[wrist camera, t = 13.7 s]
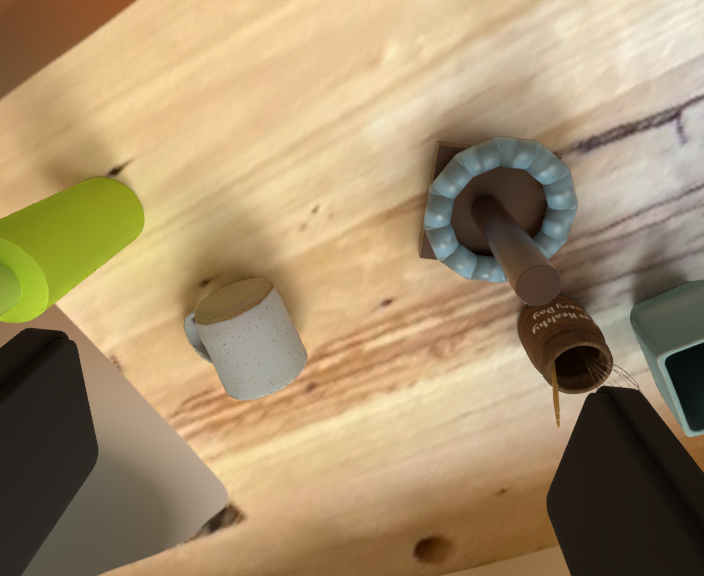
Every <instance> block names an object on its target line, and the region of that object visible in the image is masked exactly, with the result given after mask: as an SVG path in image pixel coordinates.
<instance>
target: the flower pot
mask: <svg viewBox="0 0 704 576" xmlns="http://www.w3.org/2000/svg"><path fill="white" fill-rule="evenodd" d="M630 320H631V325H632V327H633V330H634V332H635V334H636V337H637V339H638V342H639V344H640V346H641V349H642V351H643V354H644V356H645V359H646V361H647V364H648V366H649V369H650V371H651V373H652V376H653V379H654V381H655V384H656V386H657V388H658V390H659V392H660V394H661V396H662V397H663V399H664V400H665V402H666V404H667V405H668V407H669V408H670V410H671V412H672V413H673V415H674V417H675V418H676V420H677V421H678V423H679V424H680V426H681V428H682V429H683V431H684V432H685V434H686V435H687V436H689V437H692V436H697V435H701V434H704V280H697V281H691V282H687V283H685V284H682V285H680V286H678V287H675V288H673V289H671V290H669V291H666V292H664V293H662V294H659V295H657V296H655V297H652V298H650V299H647V300H645V301H643V302H640V303H638V304H636V305H635V306H634V307H633V308H632V311H631V314H630Z"/></svg>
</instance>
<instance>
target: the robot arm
mask: <svg viewBox="0 0 704 576" xmlns="http://www.w3.org/2000/svg"><path fill="white" fill-rule="evenodd" d="M97 457H98V444H97V440H96V435H95V430H94V425H93V421H92V416H91V411H90V406H89V402H88V397H87V392H86V387H85V382H84V378H83V373H82V368H81V363H80V359H79V354H78V349H77V346H76V343H75V342H74V341H72V340H69V338H68V336H67V335H66V333H64V332H62V331H57V330H47V329H37V328H26V329H24V330H23V331H21V332H20V333H18V334H17V335H16V336H15V337H14V338H12V339H11V340H10V341H8V342H7V343H6V344H5V345H3V346H2V347H1V348H0V576H21V575H22V574H23V572H24V570H25V569H26V568H27V566H28V565H29V563H30V562H31V560H32V559H33V557H34V556H35V554H36V553H37V551H38V550H39V548H40V547H41V545H42V544H43V542H44V541H45V539H46V538H47V536H48V535H49V533H50V532H51V531H52V529H53V528H54V526H55V525H56V523H57V521H58V520H59V519H60V517H61V516H62V514H63V512H64V511H65V510H66V508H67V507H68V505H69V504H70V502H71V501H72V499H73V498H74V496H75V495H76V493H77V492H78V490H79V489H80V487H81V486H82V485H83V483H84V482H85V480H86V479H87V477H88V475H89V474H90V472H91V471H92V470H93V468H94V466H95V464H96V461H97ZM547 511H548V515H549V518H550V520H551V523H552V526H553V528H554V531H555V534H556V536H557V539H558V542H559V545H560V547H561V550H562V552H563V555H564V558H565V561H566V563H567V566H568V569H569V571H570V574H571V576H704V473H703V471H702V470H701V469H700V467H699V466H698V465H697V464H696V462H695V461H694V460H693V458H692V457H691V456H690V455H689V453H688V452H687V451H686V449H685V448H684V447H683V446H682V444H681V443H680V442H679V440H678V439H677V438H676V436H675V435H674V434H673V433H672V431H671V430H670V429H669V427H668V426H667V425H666V424H665V422H664V421H663V420H662V418H661V417H660V416H659V415H658V413H657V412H656V411H655V409H654V408H653V407H652V406H651V404H650V403H649V402H648V400H647V399H646V398H645V397H644V395H643V394H642V393H641V392H640V391H639V390H636V389H632V388H622V387H612V386H601V387H600V388H599V389H598V390H597V391H596V393H590V394H589V395H588V396H587V398H586V400H585V402H584V405H583V407H582V410H581V412H580V415H579V417H578V419H577V422H576V424H575V427H574V429H573V432H572V434H571V437H570V439H569V442H568V444H567V447H566V449H565V452H564V454H563V457H562V459H561V462H560V464H559V466H558V469H557V471H556V474H555V476H554V479H553V481H552V484H551V486H550V489H549V491H548V494H547Z"/></svg>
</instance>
